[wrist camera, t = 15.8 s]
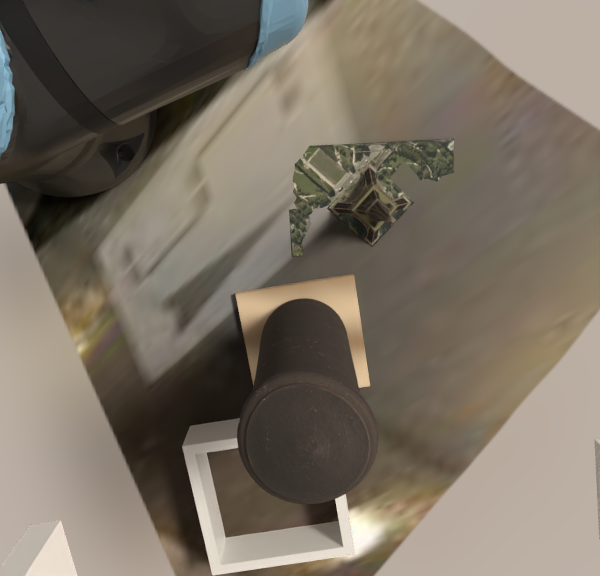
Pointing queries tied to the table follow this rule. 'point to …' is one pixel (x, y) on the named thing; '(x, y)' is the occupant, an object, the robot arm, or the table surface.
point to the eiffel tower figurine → (362, 183)
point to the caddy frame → (257, 546)
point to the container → (306, 409)
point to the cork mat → (328, 290)
